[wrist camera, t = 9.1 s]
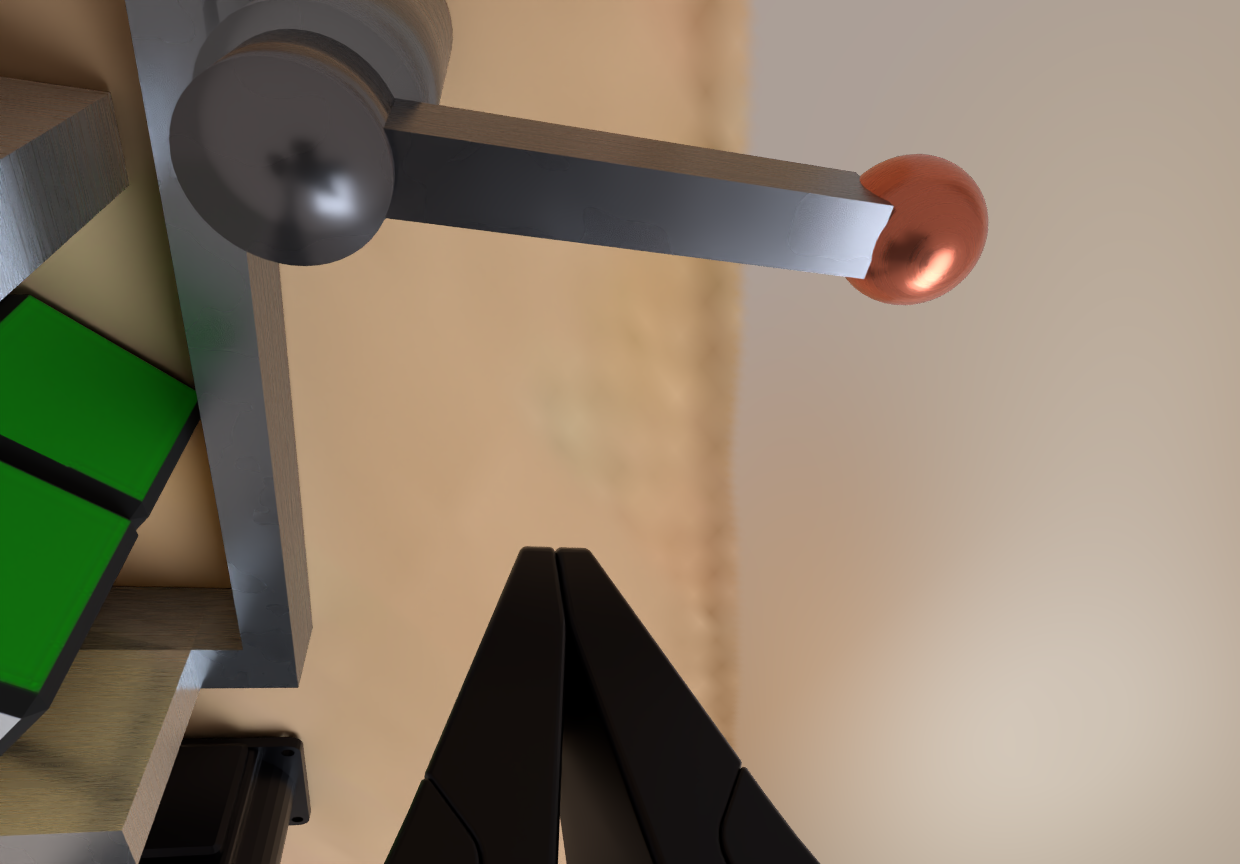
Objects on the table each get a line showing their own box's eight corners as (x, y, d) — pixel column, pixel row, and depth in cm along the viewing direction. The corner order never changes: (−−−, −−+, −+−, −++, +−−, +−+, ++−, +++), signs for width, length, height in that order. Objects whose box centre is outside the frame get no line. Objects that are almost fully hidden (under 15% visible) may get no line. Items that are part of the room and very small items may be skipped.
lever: (233, 192, 11) (183, 256, 9) (212, 5, 9) (147, 38, 8) (907, 279, 13) (970, 344, 11) (971, 139, 12) (1053, 188, 10)
